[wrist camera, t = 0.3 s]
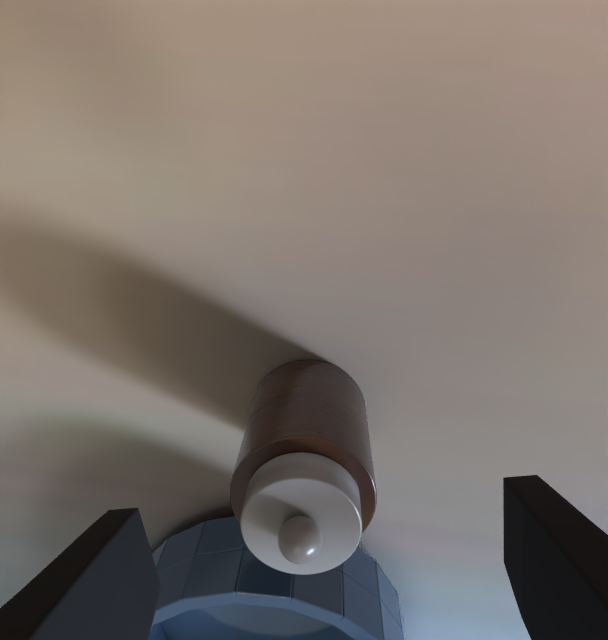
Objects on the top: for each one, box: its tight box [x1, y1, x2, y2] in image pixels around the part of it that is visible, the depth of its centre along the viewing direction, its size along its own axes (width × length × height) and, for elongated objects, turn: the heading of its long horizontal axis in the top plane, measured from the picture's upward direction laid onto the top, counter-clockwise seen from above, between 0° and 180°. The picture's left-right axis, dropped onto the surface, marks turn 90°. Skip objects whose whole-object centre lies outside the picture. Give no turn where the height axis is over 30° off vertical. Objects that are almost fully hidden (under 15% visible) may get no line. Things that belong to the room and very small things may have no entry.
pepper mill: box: [230, 360, 377, 575], centre depth 17 cm, size 4×4×7 cm
